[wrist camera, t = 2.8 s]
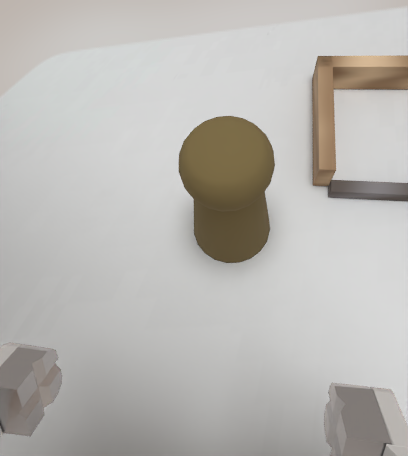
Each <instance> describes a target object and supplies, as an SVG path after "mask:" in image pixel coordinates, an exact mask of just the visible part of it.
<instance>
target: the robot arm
mask: <svg viewBox="0 0 408 456" xmlns="http://www.w3.org/2000/svg"><path fill="white" fill-rule="evenodd" d="M57 360H58V355H57V352H56V350H54V349H51V348H44V347H37V346H31V345H24V344H23V345H22V344H16V343H7V344H4V345H3V346H2V347H1V348H0V436H2V435H3V433H9V434H17V435H25V436H31V435H32V434H33V432H34V430H35V429H36V427H37V426H38V424H39V423H40V421H41V420H42V418H43V417H44V407H46V406H47V405H49V404H51V403H52V402H53V401H54V399H55V398H56V396H57V395H58V393H59V390H60V387H61V384H62V373H61V369H60V368H59V367H58V366H57V365H56V364H55V362H56V361H57ZM328 393H329V398H330V402H328V403H327V404H326V407H325V413H324V427H325V435H326V442H327V443H328V444H329V445H330V447H331V448H332V450H331V454H330V456H408V426H407V423H406V421H405V419H404V416H403V414H402V411H401V409H400V407H399V404H398V402H397V400H396V397H395V395H394V393H393V392H392V391H391V390H390V389H384V388H375V387H367V386H358V385H349V384H340V383H331V385H330V388H329V392H328Z"/></svg>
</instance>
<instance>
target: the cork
mask: <svg viewBox="0 0 408 456" xmlns="http://www.w3.org/2000/svg"><path fill="white" fill-rule="evenodd" d="M274 166H275V163H274V153H273V149H272V146H271V144H270V142H269V140H268V138H267V136H266V134H265V133H263V132H262V131H261V130H260V129H259V128H258V127H257V126H256V125H255V124H253V123H251V122H249V121H247V120H245V119H243V118H239V117H233V116H223V117H216V118H213V119H210V120H207V121H205V122H203V123H202V124H200V125H199V126H197V127H196V128H195V129H194V130H193V131H192V132H191V133H190V134H189V136H188V137H187V138H186V139H185V141H184V143H183V145H182V148H181V150H180V154H179V173H180V176H181V179H182V182H183V184H184V187H185V189H186V190H187V191H188V193H189V194H190V195H191V196H192V197H193V199H194V234H195V237H196V240H197V243H198V245H199V246H200V247H201V249H202V250H203V251H204V252H205V254H207V255H209V256H210V257H212V258H213V259H215V260H218V261H222V262H225V263H236V262H242V261H244V260H247V259H250V258H252V257H253V256H254V255H256V254H257V253H258V252H260V251H261V249H262V248H263V246H264V245H265V243H266V242H267V239H268V235H269V231H270V226H269V217H268V210H267V204H266V198H265V192H264V191H265V190H266V188H267V187H268V186H269V184H270V182H271V178H272V175H273V171H274Z"/></svg>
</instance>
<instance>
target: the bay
mask: <svg viewBox="0 0 408 456" xmlns="http://www.w3.org/2000/svg"><path fill="white" fill-rule="evenodd" d="M333 89H408V56H318V58H317V62H316V66H315V70H314V74H313V78H312V91H313V185H315V186H328V197H334V198H355V199H376V200H396V201H408V183H392V182H368V181H344V180H331V179H332V177H333V175H334V173H335V171H336V154H335V123H334V91H333Z"/></svg>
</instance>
